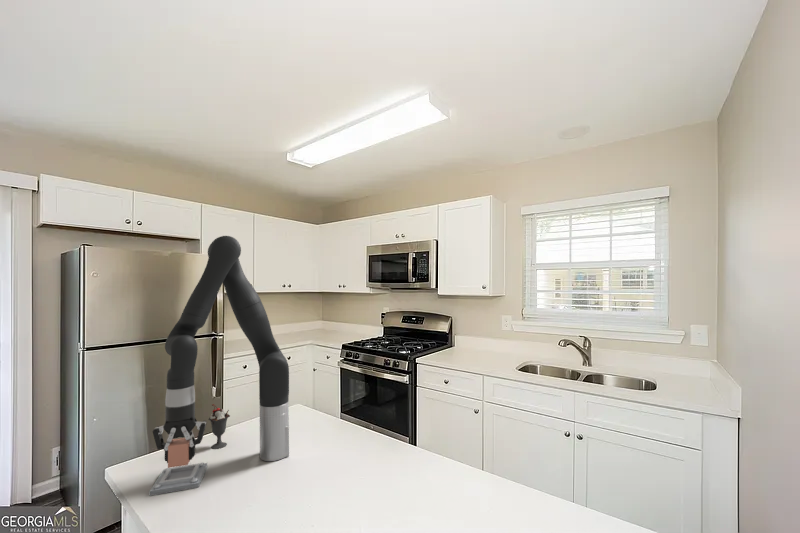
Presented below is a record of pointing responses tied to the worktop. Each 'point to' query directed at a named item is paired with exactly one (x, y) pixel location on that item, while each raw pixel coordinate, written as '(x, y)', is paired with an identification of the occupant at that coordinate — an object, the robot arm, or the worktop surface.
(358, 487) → the worktop surface
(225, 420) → the sundae
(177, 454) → the block
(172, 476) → the plate
